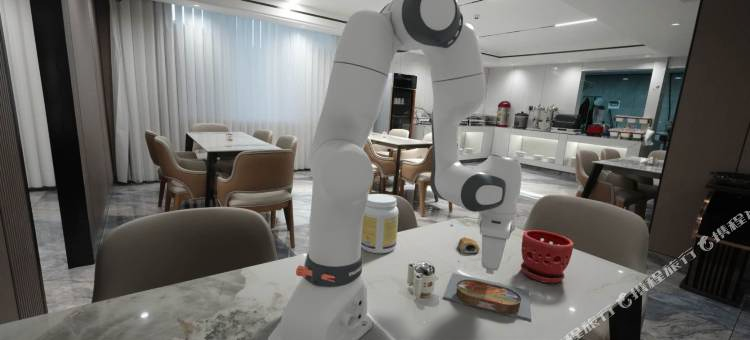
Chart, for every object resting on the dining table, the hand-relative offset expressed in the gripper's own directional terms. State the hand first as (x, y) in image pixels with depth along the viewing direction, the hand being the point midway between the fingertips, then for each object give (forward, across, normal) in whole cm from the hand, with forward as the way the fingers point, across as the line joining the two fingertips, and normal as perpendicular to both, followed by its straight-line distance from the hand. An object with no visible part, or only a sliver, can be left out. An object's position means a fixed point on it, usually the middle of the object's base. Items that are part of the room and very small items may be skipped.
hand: (489, 271), depth 88 cm
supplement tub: (+6, -14, -36) cm, 39 cm away
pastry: (+6, -28, -8) cm, 30 cm away
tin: (+4, +1, 0) cm, 5 cm away
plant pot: (+6, -18, +14) cm, 24 cm away
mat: (+6, +1, 0) cm, 6 cm away
